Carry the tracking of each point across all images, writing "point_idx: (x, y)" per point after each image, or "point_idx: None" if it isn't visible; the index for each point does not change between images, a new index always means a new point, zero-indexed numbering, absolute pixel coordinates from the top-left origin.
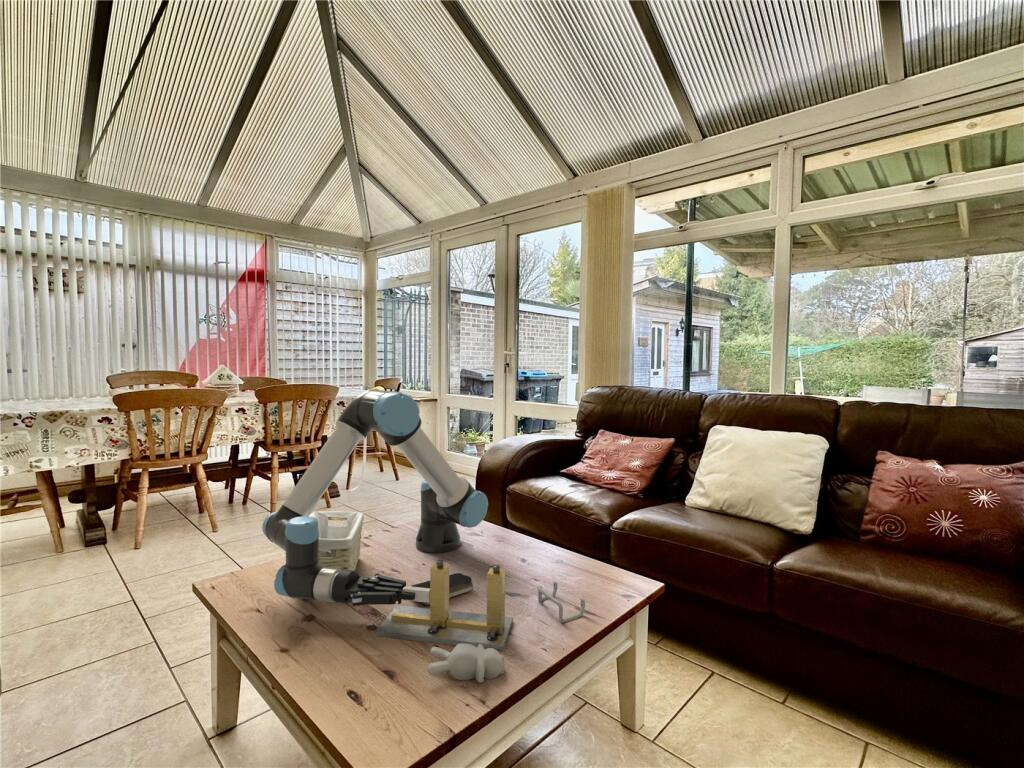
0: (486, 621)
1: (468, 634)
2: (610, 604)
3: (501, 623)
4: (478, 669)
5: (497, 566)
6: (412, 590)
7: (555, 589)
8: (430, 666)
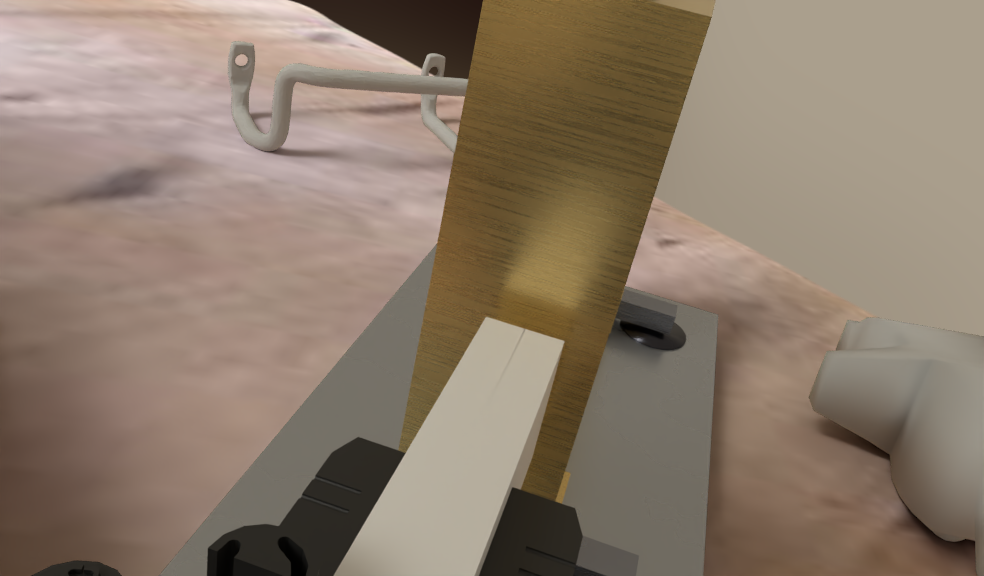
0: None
1: (630, 409)
2: (367, 69)
3: None
4: None
5: None
6: (509, 492)
7: (249, 79)
8: None
